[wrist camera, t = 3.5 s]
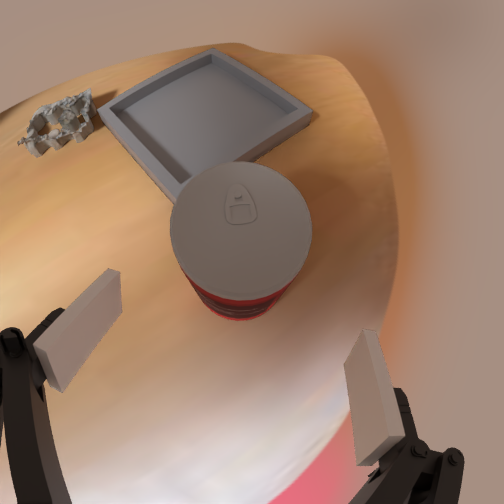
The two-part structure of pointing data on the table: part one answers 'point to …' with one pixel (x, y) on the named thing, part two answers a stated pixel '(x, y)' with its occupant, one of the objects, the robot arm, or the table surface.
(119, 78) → the table surface
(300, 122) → the tray
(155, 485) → the table surface
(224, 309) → the canned food
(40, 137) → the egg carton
